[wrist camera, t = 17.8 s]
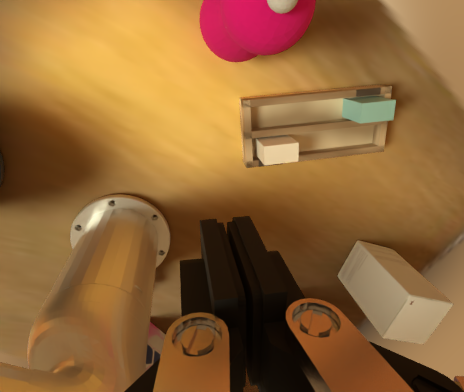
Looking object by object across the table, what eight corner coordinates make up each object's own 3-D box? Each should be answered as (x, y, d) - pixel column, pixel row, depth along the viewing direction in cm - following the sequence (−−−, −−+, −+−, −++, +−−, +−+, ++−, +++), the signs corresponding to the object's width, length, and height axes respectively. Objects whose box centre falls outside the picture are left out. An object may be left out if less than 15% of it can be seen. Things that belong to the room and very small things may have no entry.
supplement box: (335, 276, 51) (380, 339, 40) (356, 238, 49) (411, 293, 37) (371, 284, 53) (424, 346, 42) (394, 248, 51) (456, 304, 39)
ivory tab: (286, 150, 40) (298, 161, 36) (255, 154, 40) (264, 165, 36) (286, 133, 39) (298, 142, 35) (255, 137, 39) (263, 146, 35)
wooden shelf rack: (372, 146, 43) (384, 151, 41) (243, 161, 41) (246, 168, 39) (380, 84, 40) (392, 86, 37) (239, 97, 38) (243, 100, 35)
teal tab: (371, 113, 40) (393, 120, 36) (341, 116, 39) (360, 123, 35) (373, 95, 39) (396, 99, 35) (343, 98, 38) (362, 103, 35)
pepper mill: (218, -30, 32) (268, -139, 14) (275, 13, 35) (380, -34, 17) (185, 38, 34) (192, 17, 16) (241, 74, 37) (302, 91, 19)
